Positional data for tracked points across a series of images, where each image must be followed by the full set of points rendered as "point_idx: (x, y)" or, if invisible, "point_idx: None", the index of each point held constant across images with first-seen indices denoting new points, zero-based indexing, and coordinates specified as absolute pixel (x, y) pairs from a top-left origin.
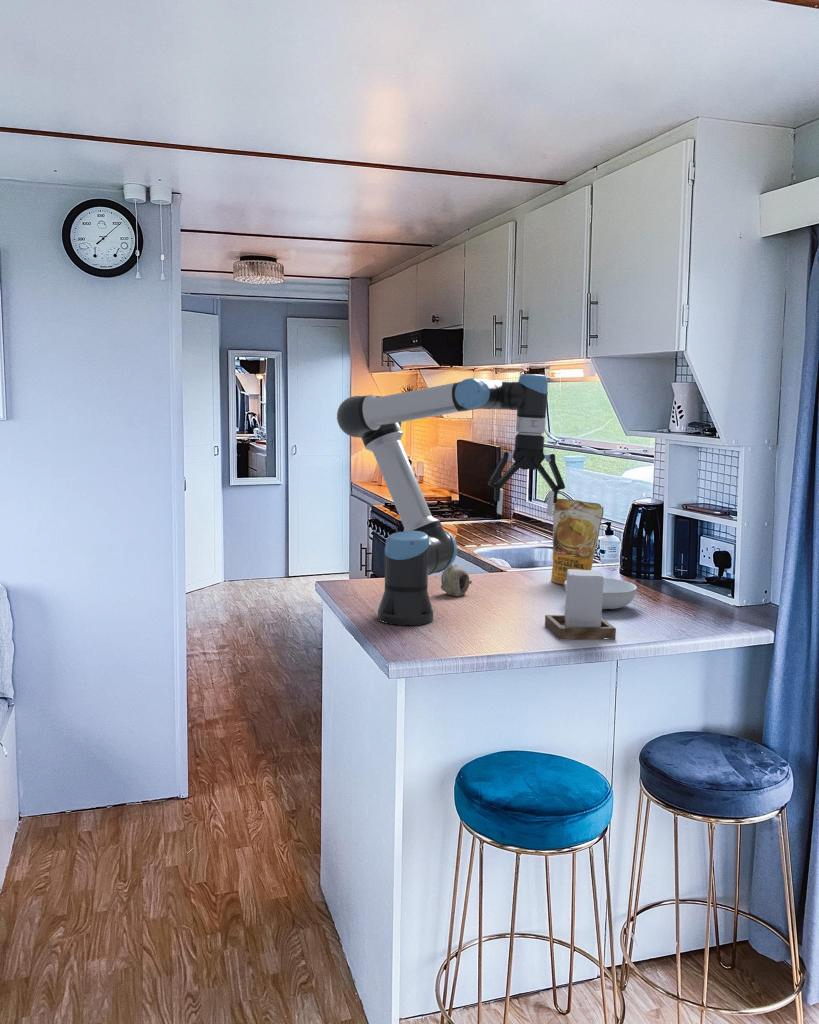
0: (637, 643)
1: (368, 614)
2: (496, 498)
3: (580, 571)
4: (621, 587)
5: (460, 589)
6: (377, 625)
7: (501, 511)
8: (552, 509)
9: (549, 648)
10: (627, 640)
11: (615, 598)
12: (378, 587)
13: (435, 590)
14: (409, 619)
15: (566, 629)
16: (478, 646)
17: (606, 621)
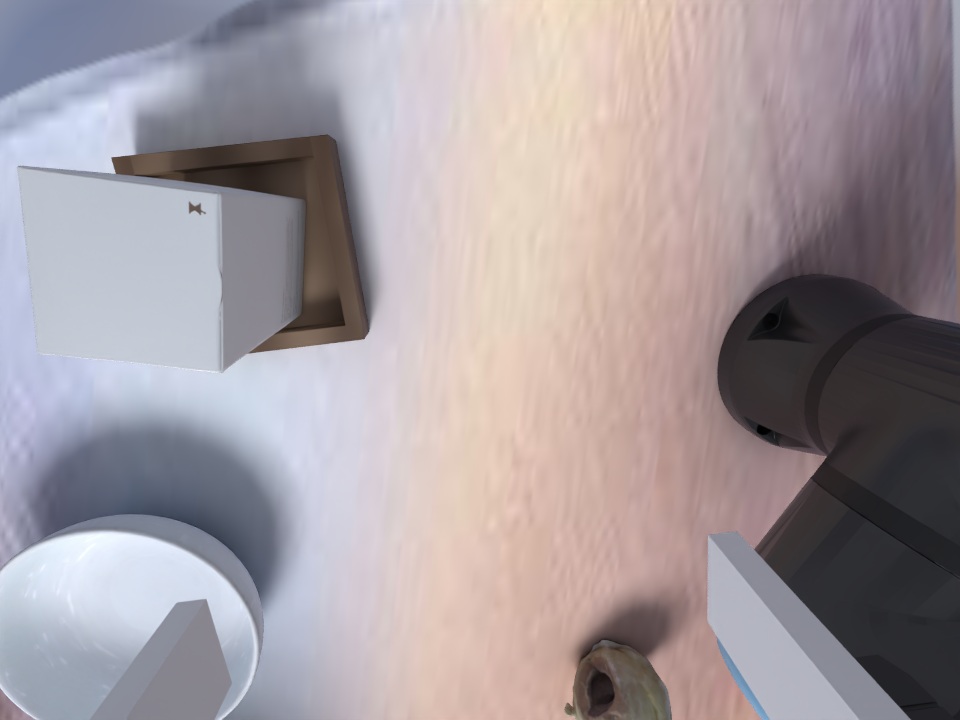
0: (56, 107)
1: None
2: (899, 685)
3: (149, 299)
4: (53, 686)
5: (599, 663)
6: (894, 278)
7: (728, 551)
8: (137, 660)
9: (384, 14)
10: (92, 148)
11: (82, 523)
12: None
13: None
14: (818, 277)
15: (305, 138)
16: (624, 28)
17: None
